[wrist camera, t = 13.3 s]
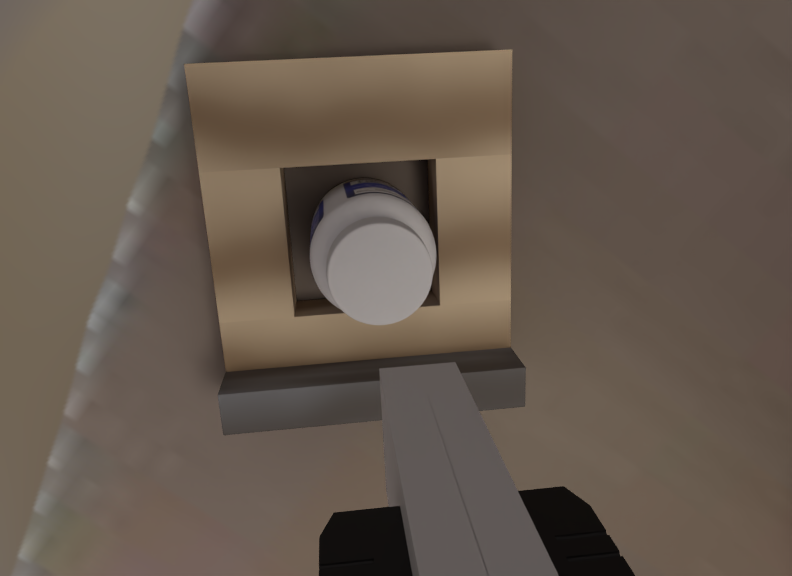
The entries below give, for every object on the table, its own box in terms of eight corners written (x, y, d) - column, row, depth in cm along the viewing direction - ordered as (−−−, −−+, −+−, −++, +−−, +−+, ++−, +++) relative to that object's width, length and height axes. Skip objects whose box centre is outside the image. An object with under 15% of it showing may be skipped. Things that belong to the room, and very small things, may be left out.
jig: (195, 66, 29) (170, 60, 24) (497, 53, 30) (529, 44, 25) (237, 387, 34) (223, 435, 29) (497, 364, 35) (525, 406, 30)
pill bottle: (359, 300, 33) (371, 369, 25) (289, 224, 32) (276, 271, 23) (438, 233, 32) (478, 281, 24) (370, 153, 31) (388, 174, 23)
